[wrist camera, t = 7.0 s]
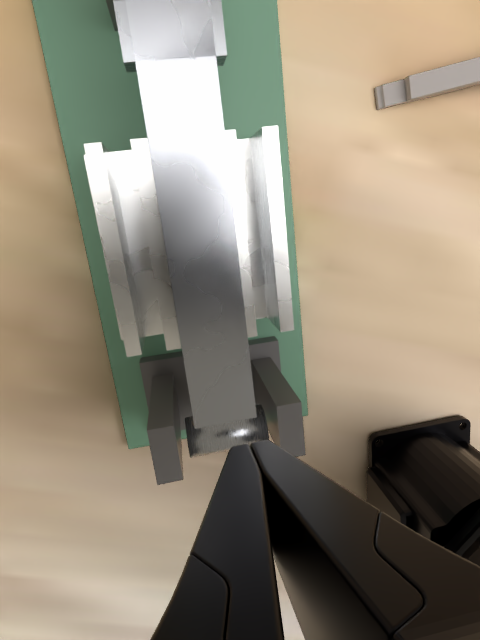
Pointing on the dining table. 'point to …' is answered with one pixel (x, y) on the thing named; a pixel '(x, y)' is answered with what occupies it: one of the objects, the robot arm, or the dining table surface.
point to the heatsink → (149, 247)
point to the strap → (195, 209)
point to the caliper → (429, 84)
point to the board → (128, 123)
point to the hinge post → (174, 406)
